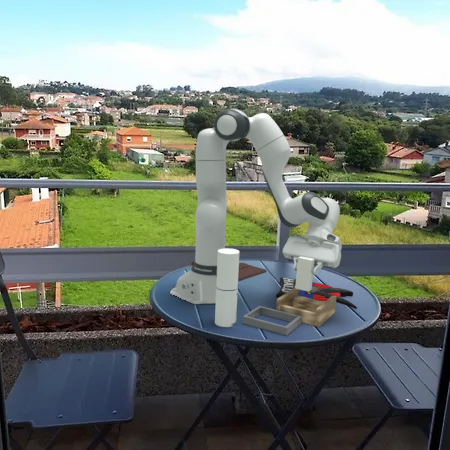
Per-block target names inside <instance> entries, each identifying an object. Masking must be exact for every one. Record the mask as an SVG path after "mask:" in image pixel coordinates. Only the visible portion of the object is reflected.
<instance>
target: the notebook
mask: <svg viewBox="0 0 450 450" xmlns="http://www.w3.org/2000/svg"><path fill="white" fill-rule="evenodd" d="M264 273H267V269H265V268H262V267H258V266H255V265H252V264H248V263H245V262H239V271H238V282H241V281H244V280H246V279H249V278H253V277H256V276H258V275H259V276H260V275H261V274H264Z"/></svg>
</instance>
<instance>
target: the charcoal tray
mask: <svg viewBox="0 0 450 450" xmlns="http://www.w3.org/2000/svg"><path fill="white" fill-rule="evenodd" d="M260 315H263V316H266V317H271V318H274V319H278V320H283V321H286V322H289V323H287V325H283V324H278V323H275V322H270V321H267V320H263V319H259V318H256V317H258V316H260ZM301 321H302V316H298V315H294V314H290V313H286V312H282V311H278V310H276V309H275V308H274V309H273V308H270V307H267V306H262V305H258V306H257V307H256V308H254V309H252V310H251V311H249V312H247V313H246V314H244V315H243V316H242V324H243V325H246V326H250V327H253V328H257V329H260V330H261V329H262V330H264V331H268V332H272V333H276V334H279V335H283V336H288V335H290V334H291V333H292V332H293V331H294V330H295V329H297V328H298V327H299V326H300V325H301V324H302V322H301Z"/></svg>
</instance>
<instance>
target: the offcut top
mask: <svg viewBox="0 0 450 450" xmlns="http://www.w3.org/2000/svg"><path fill="white" fill-rule="evenodd" d="M324 302H325V301H318V300H314V299H310V298H306V297H303V296H297V297H295V298H294V303H298V304H301V305H305V306H309V307H313V308H316V309H317V308H318V307H319V306H320V305H322V304H323V303H324Z"/></svg>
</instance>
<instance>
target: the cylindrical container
mask: <svg viewBox="0 0 450 450" xmlns="http://www.w3.org/2000/svg"><path fill="white" fill-rule="evenodd" d="M239 263H240V250H238V249H236V248H228V247H225V249H219V250H218V256H217V281H216V303H215V308H214V310H215V311H214V313H215V315H214V324H215V325H216V326H217V327H221V328H230V327H234V326H235V323H236V322H237V312H238V311H237V307H238V290H239V289H238V288H239V287H238V286H239V281H238V271H239Z"/></svg>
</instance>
